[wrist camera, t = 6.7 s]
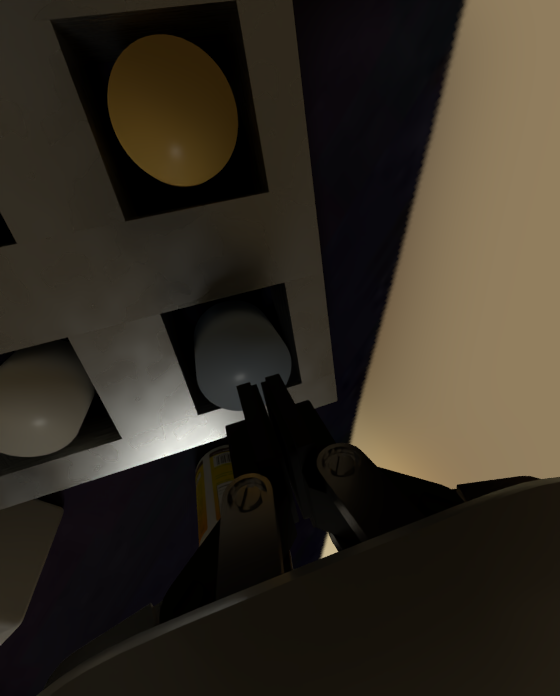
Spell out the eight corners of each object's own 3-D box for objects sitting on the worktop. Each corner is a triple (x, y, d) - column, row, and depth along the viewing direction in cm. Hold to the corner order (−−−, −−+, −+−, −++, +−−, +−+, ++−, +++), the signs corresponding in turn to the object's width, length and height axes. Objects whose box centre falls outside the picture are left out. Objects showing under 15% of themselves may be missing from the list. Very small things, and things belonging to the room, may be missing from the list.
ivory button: (-11, 352, 17) (-62, 393, 13) (79, 329, 17) (52, 363, 14) (34, 417, 19) (0, 468, 15) (112, 395, 19) (97, 439, 16)
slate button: (182, 311, 17) (183, 342, 13) (263, 291, 18) (282, 314, 14) (206, 380, 19) (211, 422, 15) (277, 359, 20) (297, 395, 16)
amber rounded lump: (109, 82, 14) (83, 42, 10) (211, 67, 14) (221, 26, 11) (147, 195, 16) (136, 195, 12) (235, 178, 16) (249, 173, 13)
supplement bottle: (219, 496, 26) (234, 615, 19) (182, 466, 24) (182, 588, 16) (266, 463, 26) (299, 570, 18) (233, 430, 24) (256, 536, 16)
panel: (-321, 36, 11) (-564, -41, 7) (257, -20, 14) (281, -91, 10) (13, 461, 20) (-23, 517, 16) (314, 370, 23) (337, 400, 20)
